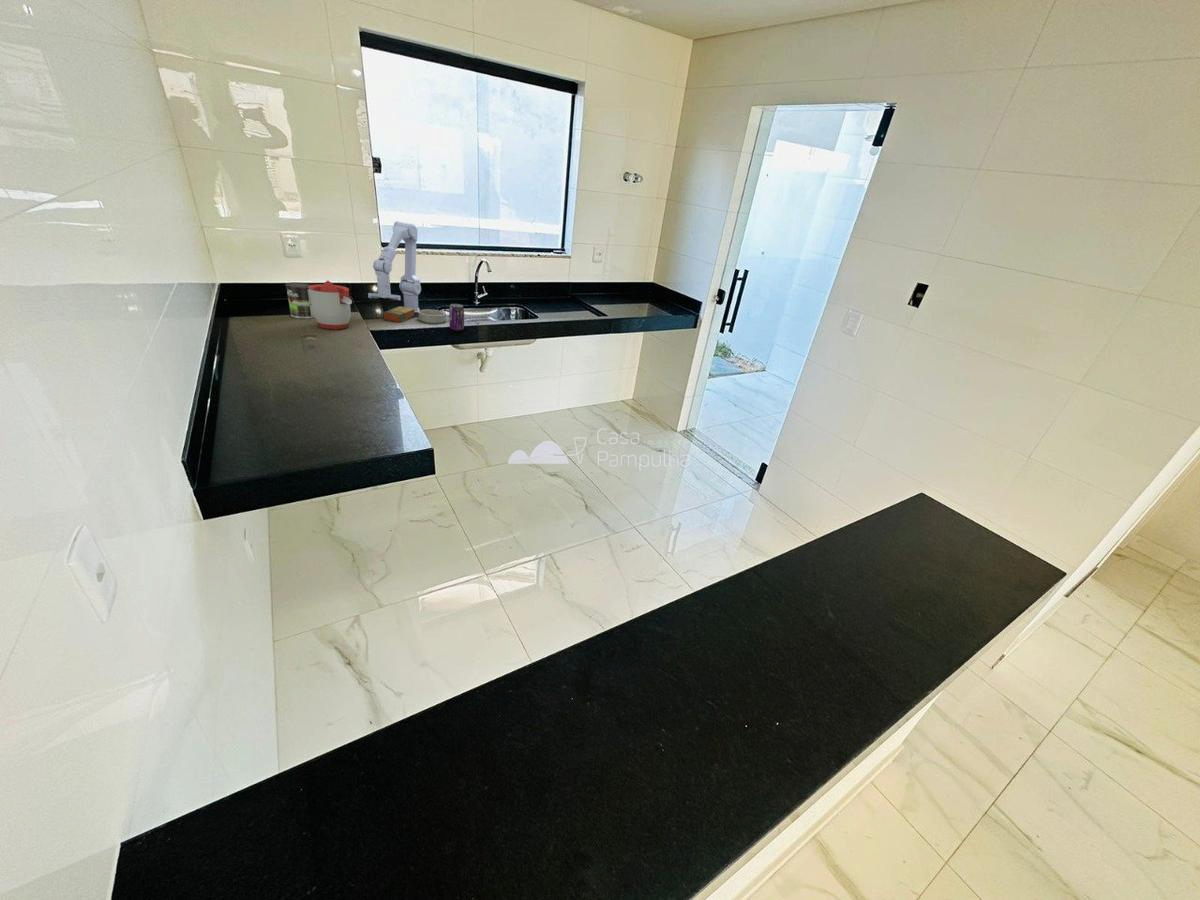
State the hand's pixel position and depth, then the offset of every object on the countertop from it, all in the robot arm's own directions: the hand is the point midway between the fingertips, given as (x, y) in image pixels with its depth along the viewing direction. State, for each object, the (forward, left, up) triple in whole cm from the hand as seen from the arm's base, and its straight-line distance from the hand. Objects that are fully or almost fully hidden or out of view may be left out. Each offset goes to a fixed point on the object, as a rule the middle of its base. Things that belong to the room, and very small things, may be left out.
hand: (385, 313), depth 234 cm
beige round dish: (0, +22, -2) cm, 22 cm away
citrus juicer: (+24, -19, -2) cm, 31 cm away
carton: (0, +7, -2) cm, 7 cm away
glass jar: (+8, -35, -2) cm, 36 cm away
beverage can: (+15, +34, -2) cm, 37 cm away
